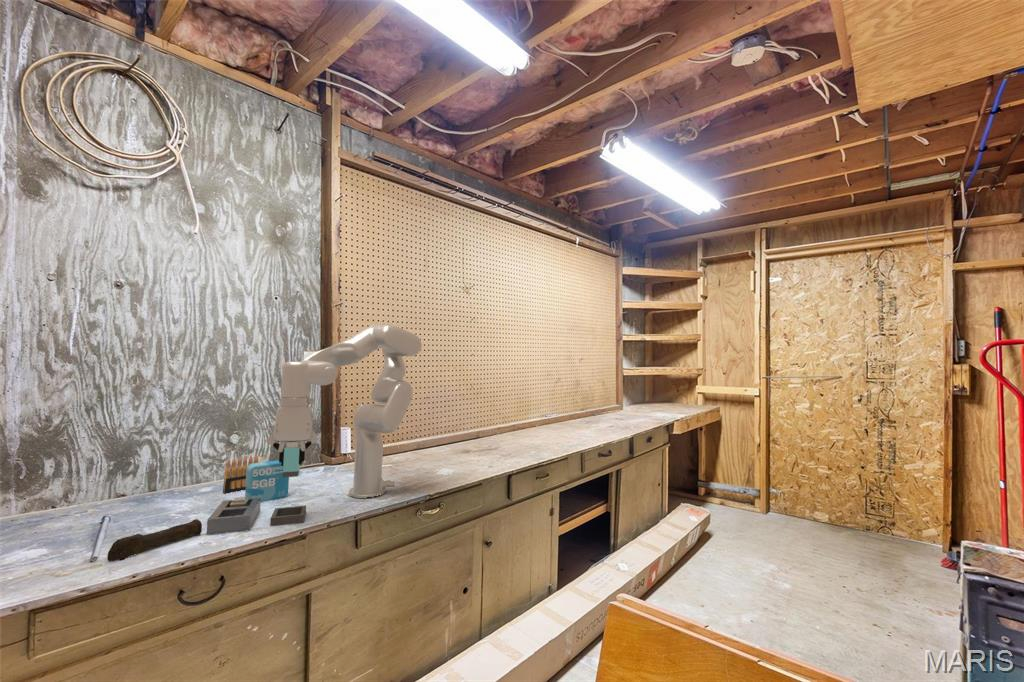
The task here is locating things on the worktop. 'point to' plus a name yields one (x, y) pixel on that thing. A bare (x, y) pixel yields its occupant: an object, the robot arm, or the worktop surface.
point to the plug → (291, 459)
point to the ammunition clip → (236, 475)
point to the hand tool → (152, 539)
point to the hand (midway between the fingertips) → (291, 463)
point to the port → (234, 515)
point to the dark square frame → (288, 515)
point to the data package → (266, 481)
